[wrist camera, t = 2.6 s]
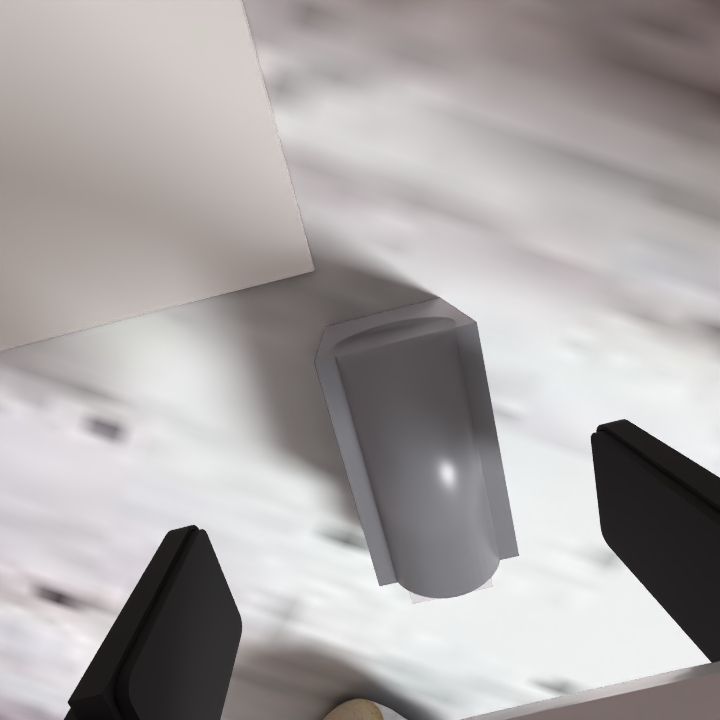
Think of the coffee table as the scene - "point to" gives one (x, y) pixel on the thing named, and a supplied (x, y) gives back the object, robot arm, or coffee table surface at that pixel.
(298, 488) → the coffee table surface
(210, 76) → the felt coaster
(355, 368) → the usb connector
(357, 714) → the ceramic mug
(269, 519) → the coffee table surface
